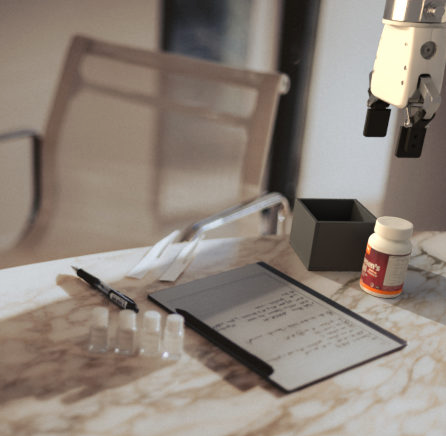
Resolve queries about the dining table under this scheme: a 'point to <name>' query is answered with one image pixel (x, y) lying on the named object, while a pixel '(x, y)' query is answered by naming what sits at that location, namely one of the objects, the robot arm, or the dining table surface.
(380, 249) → the pill bottle
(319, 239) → the waste bin
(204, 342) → the dining table surface
